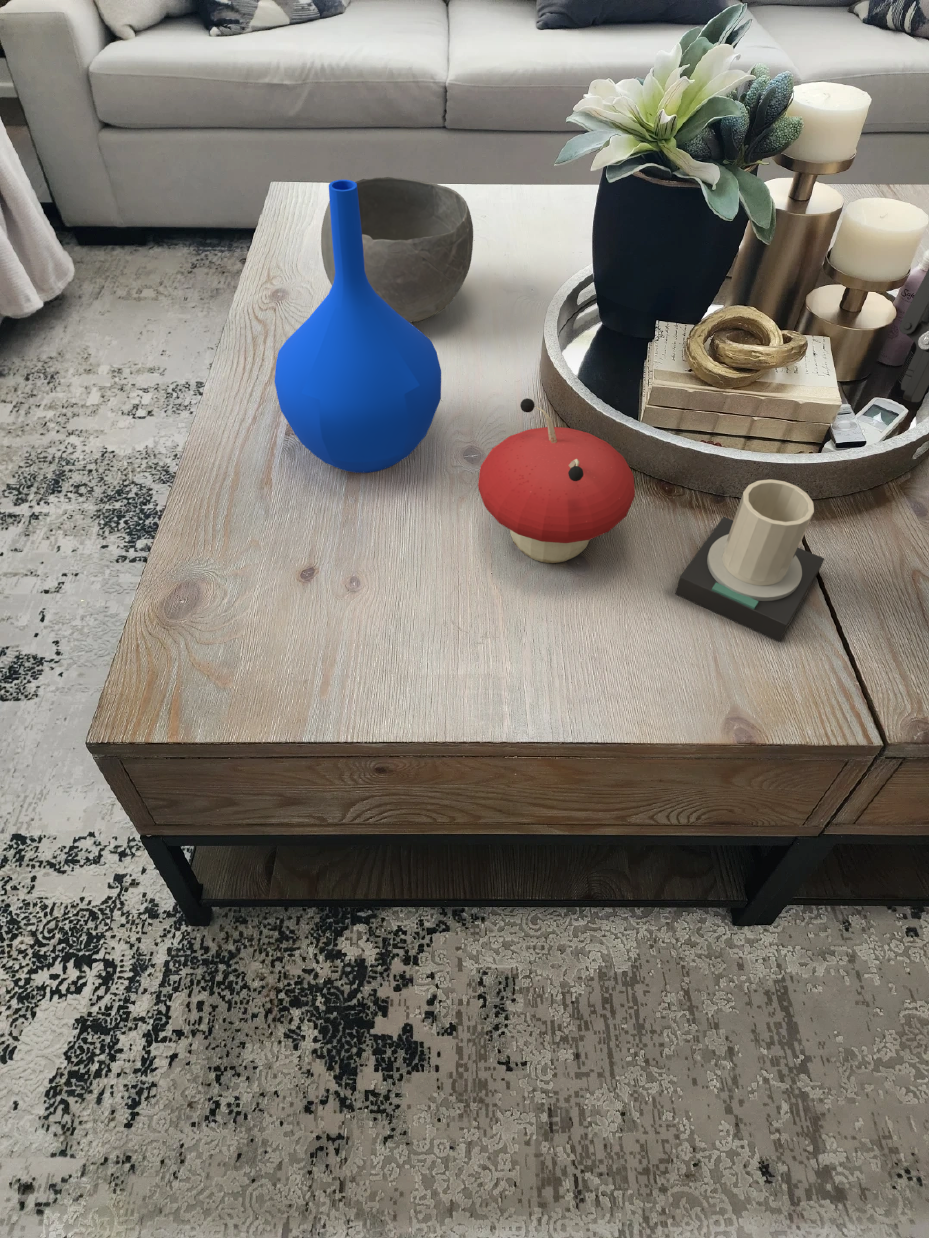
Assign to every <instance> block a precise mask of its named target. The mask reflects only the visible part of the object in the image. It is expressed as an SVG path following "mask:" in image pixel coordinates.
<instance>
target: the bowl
mask: <svg viewBox="0 0 929 1238" xmlns="http://www.w3.org/2000/svg"><path fill="white" fill-rule="evenodd" d="M354 182H355V183H356V184H357V190H358V200H359V210H360V220H361V230H362V240H363V252H364V267H365V273H366V276H367V279H368V282H369V283H370V285H371V286H372V288H373V289H374V291H375V293H376V294H378V295H379V296H380V297H381V298H382V299H383V300H384V301H385V302H386V303H387V304H388V305H389V306H390V307H391V308H392V309H393V310H395V311H396V312H397V313H398V314H399V315H400V316H402V317H403V318H404V319H405V320H407V321H408V322H409V323H413V322H419V321H423V320H426V319H429V318H430V317H433V316H435V315H436V314H438V313H439V312H441V311H442V310H444V309H445V308H446V307H447V306H449V304H450V303H451V302H452V301H453V300H454V299H455V298H456V296H457V295H458V293H459V291H460V290H461V288H462V287H463V284H464V282H465V280H466V279H467V276H468V273H469V271H470V267H471V263H472V257H473V250H474V249H473V247H474V223H473V219H472V215H471V211H470V209H469V205H468V203H467V200H466V199H465V198H464V197H463V196H462V195H461V194H460V193H458V192H457V191H456V190H455V189H452V188H450V187H448V186H445V185H441V184H438V183H433V182H427V181H423V180H418V179H412V178H405V177H391V176H386V177H372V178H361V179H359V180H357V181H354ZM327 203H328V204H327V206H326V209H325V212H324V215H323V219H322V224H321V230H320V231H321V232H320V248H321V250H320V251H321V257H322V264H323V268H324V271H325V275H326V277H327V279H328V281H329V283H330V285H331V286H332V285H333V283H334V277H335V265H334V255H333V243H332V229H331V214H330V200H329V201H328V202H327Z"/></svg>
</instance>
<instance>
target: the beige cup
mask: <svg viewBox="0 0 929 1238" xmlns="http://www.w3.org/2000/svg"><path fill="white" fill-rule="evenodd" d="M814 505H815V504H814V501H813V500H812V498H811V496H809V494H808V493H807V492H806V491H805V490H803V489H801V488H800V487H799V486H798V485H795V484H792V483H790V482H787V481H784V480H780V479H779V480H778V479H771V478H769V479H762V480H761V479H760V480H757V481H754V482H752V483H750V484H748V485H747V486H746V488H745V489H744V490H743V493H742V495H741V498H740V501H739V504H738V506H737V510H736V512H735V515H734V518H733V524H732V527H731V530H730V533H729V535H728V538H727V541H726V544H725V547H724V552H723V555H722V560H723V564H724V566H725V567H726V569H727V570H728V571H729V573H731V574H732V575H733V576H734V577H736V578H737V579H739V580H741V581H743V582H746V583H749V584H752V585H759V586H766V585H772V584H775V583H778V582H779V581H781V580H782V579H783V578H784V577H785V576H786V574H787V572H788V570H789V568H790V566H791V563H792V561H793V559H794V557H795V554H796V552H797V550H798V548H800V545H801V543H802V541H803V538H804V536H805V534H806V531H807V529H808V527H809V526H810V525H809V524H810V522H811V520H812V518H813V515H814V513H815V506H814Z"/></svg>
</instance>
